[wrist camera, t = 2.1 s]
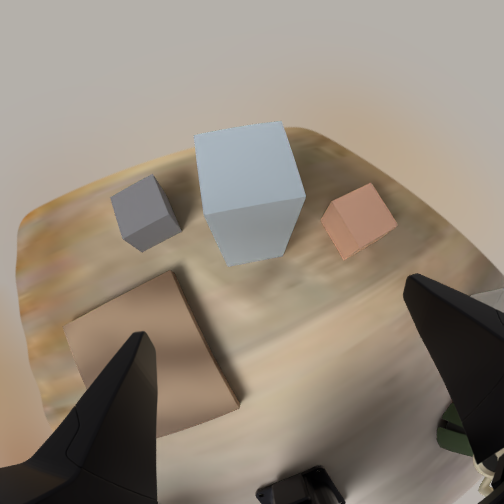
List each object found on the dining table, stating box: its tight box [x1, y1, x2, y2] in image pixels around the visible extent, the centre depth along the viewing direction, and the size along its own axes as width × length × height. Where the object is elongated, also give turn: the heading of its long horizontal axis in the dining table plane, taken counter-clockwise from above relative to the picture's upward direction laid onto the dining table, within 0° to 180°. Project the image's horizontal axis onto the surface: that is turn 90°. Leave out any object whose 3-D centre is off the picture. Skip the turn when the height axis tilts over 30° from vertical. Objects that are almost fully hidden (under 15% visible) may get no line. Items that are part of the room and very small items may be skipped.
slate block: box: [194, 121, 306, 267], centre depth 18 cm, size 4×4×11 cm
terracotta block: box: [320, 183, 398, 260], centre depth 21 cm, size 4×4×4 cm
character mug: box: [437, 403, 504, 497], centre depth 12 cm, size 11×7×13 cm, turn 162°
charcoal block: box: [110, 174, 182, 252], centre depth 21 cm, size 4×4×4 cm
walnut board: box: [63, 270, 240, 438], centre depth 20 cm, size 12×12×1 cm
